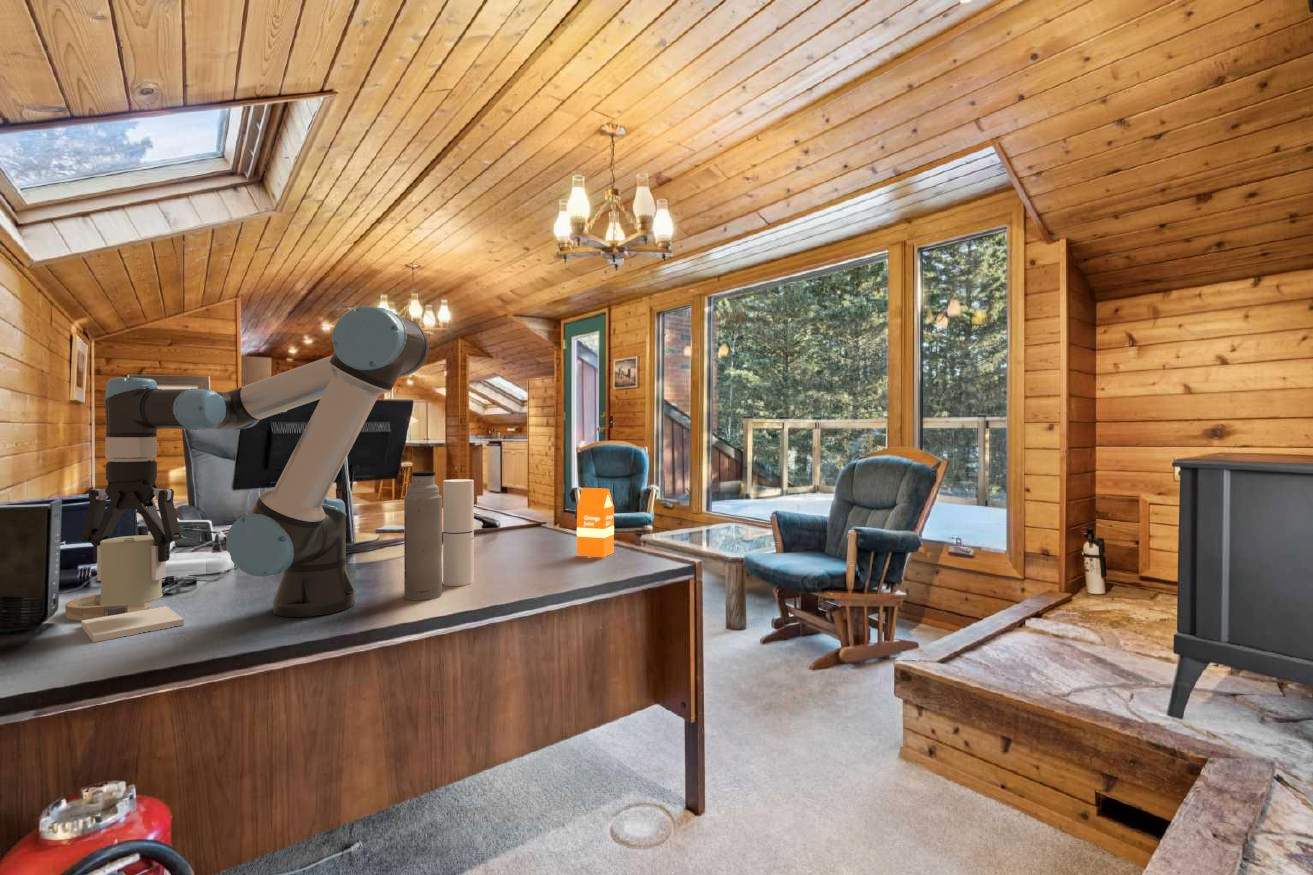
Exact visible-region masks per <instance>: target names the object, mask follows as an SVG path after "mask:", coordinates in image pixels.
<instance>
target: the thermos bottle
mask: <svg viewBox="0 0 1313 875" xmlns="http://www.w3.org/2000/svg"><path fill="white" fill-rule="evenodd" d="M411 476H412V478H411V484H410V485H409V486H408V487H407V490H406V493H407V495H406V496H404V501H403V502H404V503H403V504H404V505H403V510H404V512H403V513H404V515H403V517H404V520H403V521H404V522H403V523H404V526H403V527H404V532H403V533H404V537H403V538H404V545H403V547H404V548H403V549H404V553H403V554H404V556H403V557H404V559H403V560H404V561H403V562H404V565H403V566H404V568H403V569H404V571H403V572H404V578H403V579H404V581H403V582H404V583H403V584H404V587H403V590H404V591H403V593H404V597H403V598H404V599H406V600H409V601H426V600H427V601H428V600H434V599H436V598H439V597H440V596H442V594H443V495H440V494H439V493H440V487H439V485H437V484H436V481H435V480H436V479H435V476H436V472H435V471H426V470H425V471H424V470H423V471H414V472H413V471H412V472H411Z"/></svg>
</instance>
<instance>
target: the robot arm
mask: <svg viewBox="0 0 1313 875" xmlns="http://www.w3.org/2000/svg"><path fill="white" fill-rule="evenodd" d="M331 334H332V335H331V343H332V344H333V345H332V346H333V351H334V352H333V354H332V355H330V356H327V357H323V358H320V359H317V360H314V361H312V362H310V363H306V364H304V365H301V366H298V367H294V368H291V369H289V370H286V371H284V372H283V371H282V372H280V373H278V374H274V375H271V376H270V377H265V378H263V379H260V380H257V381H255V382H252V383H249V384H246V385H244V386H240V387H238V388H235V389H232V390H229V391H215V390H212V389H205V388H183V389H182V388H176V389H175V388H171V389H170V388H169V389H168V388H167V389H162V388H158V384H157V381H156V380H154V378H153V379H152V378H145V377H122V376H120V377H119V376H118V377H117V376H116V377H111V378H109V379H108V380H107V382H106V386H105V395H104V397H105V398H104V399H103V401H104V404H105V405H104V408H105V431H106V432H105V448H104V449H105V450H104V451H105V455H104V456H105V458H106V459H109V461H106V463H105V480H106V481H107V485H106V487H105V488H97V489H96V488H95V489H89V491H88V492H87V493H88V500H89V502H88V503H89V504H88V508H87V512H86V516H85V519H84V520H85V521H84V525H83V529H82V532H81V537H80V540H81V541H82V542H83V543H89V544H91V545H92V547H93V548H92V549H93V550H92V551H93V552H92V554H93V559H92V560H93V562H94V563H96V564H97V566H96V569H97V570H96V574H97V577H96V578H97V579H96V581H97V582H98V581H99V582H101V547H100V541H102V540H105V539H110V538H111V536H112V535H113V532H114V530H115V529H116V527H117V525H118V523H119V521H120V519H121V517H122V515H123V513H125V512H126V511H127V510H128V509H129V510H133V511H134V510H135V511H136V512H137V513H138V514H139V515H141V517H142V519H143V521H144V523H145V525H146V527H147V529H148V530H149V532H150V535H152V536H153V538H154V540H155V542H156V543H155V544H154V545H153V546H151V570H152V580H159V579H161V580H162V579H164V578H166V576H167V573H166V571H167V568H166V567H167V566H166V565H167V562H168V561H169V560H170V557H171V543H172V542H176V541H179V540H181V539H182V533H181V529H180V528H181V527H180V525H179V520H178V517H177V512H176V507H175V504H174V495H175V490H174V489H172V488H167V489H163V488H158V486H157V484H156V480H157V478H158V462H157V461H156V460H154V459H155V458H156V457H157V456H158V444H157V443H158V441H157V440H158V429H159V430H160V429H171V430H172V429H173V430H175V429H176V430H194V431H196V430H213V429H215V430H237V431H238V430H243V429H244V430H245V429H249V428H252V427H254V426H256V425H257V424H258V423H259V422H260V420H263V419H267V418H268V417H272V416H274V415H278V414H281V413H284V412H286V411H289V410H292V409H294V408H297V407H300V406H303V405H306V404H310V403H312V402H316V401H318V400H319V401H318V403H317V405H316V407H315V409H314V411H313V413H312V415H311V417H310V419H309V420H308V422H307V424H306V425H305V428H304V430H303V431H302V434H301V436H300V438H299V440H298V441H297V443H296V446H295V448H294V449H293V451H292V453H291V455H290V457H289V459H288V461H287V463H286V464H285V467H284V469H283V470H282V473H281V474H280V475H279V476H280V477H279V478H278V480H277V482H276V484H275V485H274V487H273V488H271V489H268V490H264V491H262V492H261V494H260V495H259V497H258V498H257V501H256V503H255V505H254V506H253V509H252V511H251V512H250V513H248V514H246V515H242V516H241V517H240V518H238V519H237V520H235V521H234V522H233V523H232V524H231V526H230V528H229V529H228V530H227V531H228V532H227V535H226V541H225V542H226V550H227V553H228V554H229V556H230V560H231V562H233V564H234V565H235V566H236V568H238V569H239V570H240V571H242V572H243V573H245V574H247V575H250V576H253V577H264V578H265V577H268V576H273V575H274V576H275V575H278V574H279V575H280V574H282V575H281V578H280V580H279V581H280V582H279V584H278V586H277V590H276V592H275V595H274V598H273V602H272V612H273V614H275V615H277V616H280V617H287V618H288V617H289V618H304V617H305V618H306V617H317V616H323V615H330V614H333V613H337V612H341V611H345V610H347V609H349V608H351V607H353V606H354V605H355V603H356V602H355V601H356V600H355V599H356V598H355V597H356V596H355V595H356V594H355V590H354V587H353V585H352V581H351V579H350V576H349V573H348V571H347V565H346V563H347V562H346V560H347V559H346V554H347V552H346V550H347V547H346V545H347V544H346V542H347V541H346V539H347V535H346V534H347V531H346V530H347V513H346V503H345V502H344V500H342V499H340V498H335V497H334V498H330V497H328V498H327V496H328V494H329V492H330V490H331V488H332V486H333V484H334V482H335V481H336V479H337V476H338V474H339V473H340V471H341V469H342V467H343V465H344V463H345V462H346V459H347V458H348V455H349V453H350V452H351V450H352V448H353V446H354V444H355V443H356V440H357V438H358V437H359V434H360V432H361V430H362V429H363V426H364V425H365V422H366V421H367V419H368V417H369V415H370V413H371V411H372V410H373V407H374V405H375V403H376V402H377V400H378V397H379V396H381V395H383V394H387V393H390V392H391V391H392V390H393V387H394V386H395V384H396V382H397V380H398V379H399V378H402V377H405V376H406V377H407V376H408V375H412V374H414V373H415V372H417V371H419V370H420V369H421V368H422V367H423V366H424V365H425V363H426V362H427V359H428V357H429V352H430V345H429V340H428V337H427V335H426V333H425V331H424V330H423V329H422V327H421V326H420V325H418V323H416V322H415V321H413V320H411V319H409V318H407V317H406V318H405V317H403V316H401V315H398V314H396V313H395V312H393V311H391V310H388V309H385V308H384V307H377V306H372V305H363V306H359V307H356V308H352V309H350V310H349V311H346V312H345V313H344V314H343V315H342V316H340V317H339V319H338V320H337V322H336V323H335V325H334V327H333V330H332V333H331ZM108 498H109V500H110V502H109V503H108V505H107V499H108ZM154 498H155V500H157V505H156V503H155V501H154ZM106 505H107V507H106ZM157 510H159V511H157ZM105 511H106V513H105ZM158 512H159V513H158ZM104 514H105V515H104Z"/></svg>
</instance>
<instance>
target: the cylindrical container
mask: <svg viewBox="0 0 1313 875" xmlns="http://www.w3.org/2000/svg"><path fill="white" fill-rule="evenodd" d="M442 481H443V482H442V486H443V487H442V585H444V586H448V587H460V586H461V587H463V586H467V585H471V584H473V583H474V580H475V579H474V577H475V576H474V574H475V573H474V572H475V571H474V569H475V568H474V564H475V563H474V562H475V560H474V559H475V558H474V554H475V553H474V552H475V551H474V550H475V549H474V547H475V540H474V539H475V536H474V534H475V532H474V531H475V529H474V528H475V527H474V526H475V525H474V524H475V520H474V519H475V517H474V516H475V514H474V512H475V507H474V506H475V504H474V503H475V496H474V495H475V494H474V493H475V491H474V490H475V488H474V487H475V486H474V485H475V481H474V479H470V478H469V479H464V478H463V479H462V478H459V479H458V478H457V479H456V478H455V479H444V480H442Z"/></svg>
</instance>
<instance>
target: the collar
mask: <svg viewBox="0 0 1313 875" xmlns="http://www.w3.org/2000/svg"><path fill="white" fill-rule="evenodd" d="M100 599H101V593H96V594H91V595H87V596H83V597H78V598H74V599H72V600H70V601H68V602H66V603H65V607H64V608H65V617H66V619H67V620H68V621H70V620H71V621H79V622H81V620H87V619H93V618H99V617H105V616H111V615H117V614H123V613H129V612H135V611H141V610H147V608H148V607H149V608H150V607H152V601H151V602H146V603H141V604H135V605H127V606H103V605H101V604H100ZM149 608H148V609H149Z"/></svg>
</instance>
